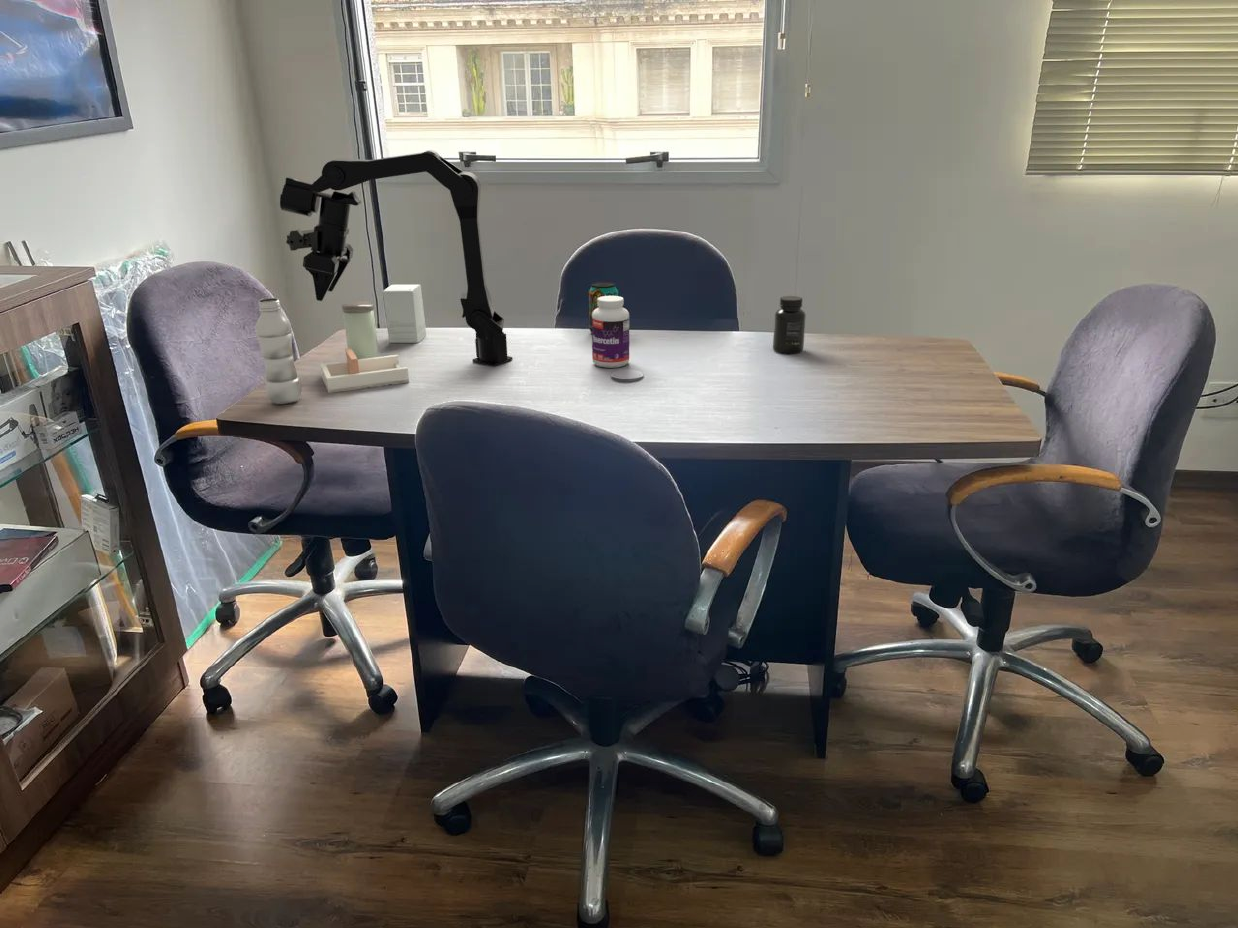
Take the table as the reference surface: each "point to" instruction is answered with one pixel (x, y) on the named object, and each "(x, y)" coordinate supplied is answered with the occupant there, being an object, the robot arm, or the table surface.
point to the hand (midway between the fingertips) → (324, 295)
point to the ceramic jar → (360, 329)
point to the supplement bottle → (789, 326)
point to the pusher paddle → (352, 362)
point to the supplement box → (404, 313)
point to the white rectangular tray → (364, 374)
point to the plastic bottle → (277, 353)
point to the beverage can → (599, 295)
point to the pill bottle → (610, 333)
